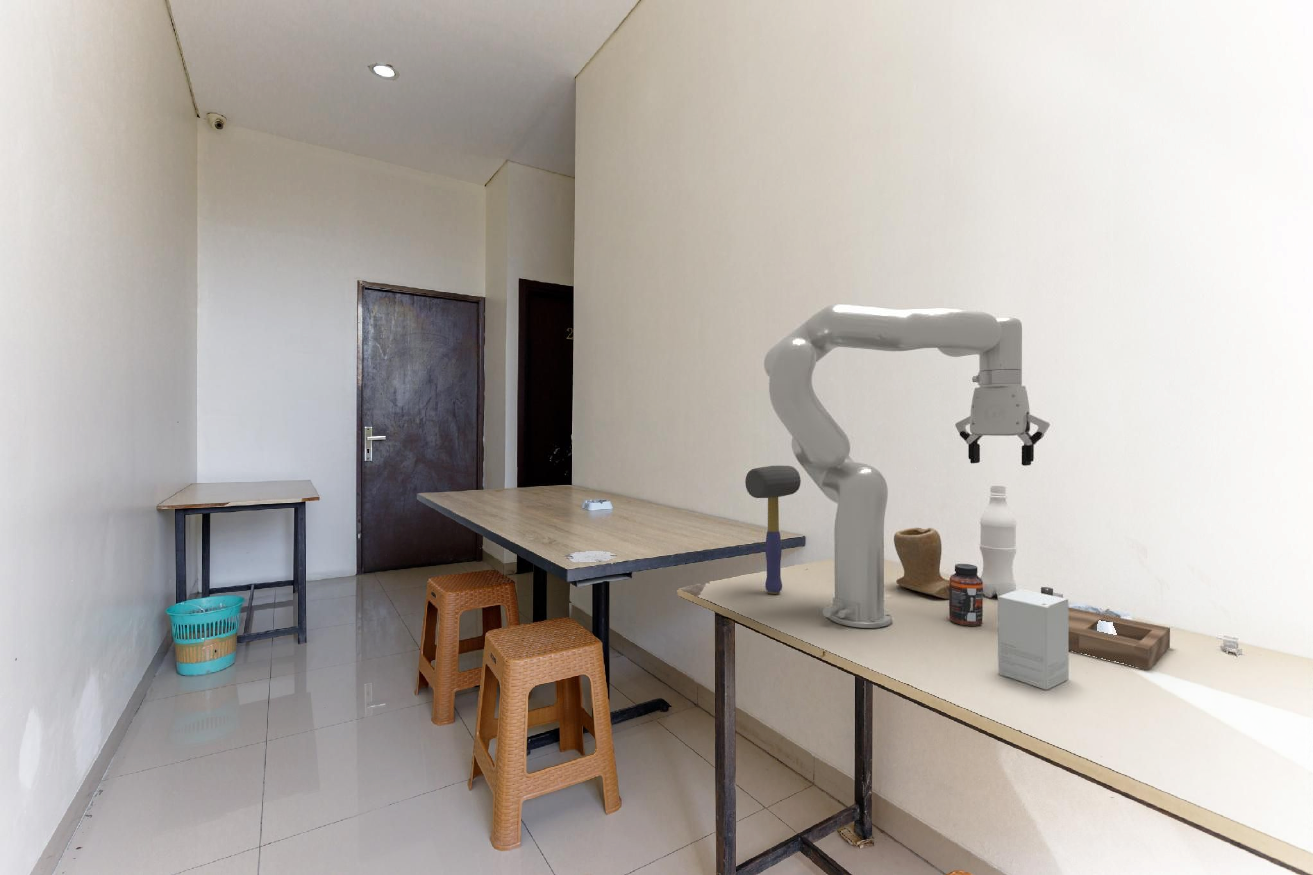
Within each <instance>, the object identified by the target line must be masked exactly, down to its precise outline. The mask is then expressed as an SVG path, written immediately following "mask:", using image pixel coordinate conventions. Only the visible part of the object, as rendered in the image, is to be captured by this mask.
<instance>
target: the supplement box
mask: <svg viewBox="0 0 1313 875" xmlns="http://www.w3.org/2000/svg"><path fill="white" fill-rule="evenodd" d="M1068 607H1069V599H1068V598H1067V597H1066V598H1065V597H1063V598H1061V597H1056V596H1051V595H1047V594H1042V593H1041V592H1036V591H1033V590H1027V589H1023V588H1019V589H1016V590H1015V591H1013V592H1010V593H1007V594H1004V595H1001V596H997V623H998V624H997V631H998V632H997V634H998V635H997V640H998V642H997V643H998V644H997V647H998V648H997V651H998V652H997V654H998V655H997V657H998V675H1001V676H1004V677H1006V678H1010V679H1013V680H1017V681H1019V682H1023V683H1025V684H1028V685H1030V686H1034V687H1037V688H1039V689H1042V690H1044V691H1045V690H1049V689H1052V688H1054V687H1055V686H1057V685H1060V684H1061V683H1064V682H1066V681H1067V680H1068V679H1069V673H1070V672H1069V667H1070V666H1069V665H1070V663H1069V651H1068Z"/></svg>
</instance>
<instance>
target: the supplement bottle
mask: <svg viewBox="0 0 1313 875" xmlns="http://www.w3.org/2000/svg"><path fill="white" fill-rule="evenodd" d="M954 572H955V573H953V574H951V575H950V577H949V599H948V601H949V602H948V617H949V620H950V621H951V622H952V623H954V624H957V625H960V626H961V625H962V626H965V627H966V626H967V627H975V626H976V627H977V626H981V625H982V624H983V616H984V615H983V606H984V603H983V601H984V593H983V581H982V579H981V576H979V575H978V573H979V571H978V566H977V565H974V564H969V563H955V565H954Z"/></svg>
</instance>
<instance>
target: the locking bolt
mask: <svg viewBox="0 0 1313 875" xmlns="http://www.w3.org/2000/svg"><path fill="white" fill-rule="evenodd" d="M1040 593H1042V594H1047V595H1051V596H1056V597H1061V598H1064V594H1063V593H1058V592H1054V589H1053V588H1052V587H1048V586H1041V587H1040Z"/></svg>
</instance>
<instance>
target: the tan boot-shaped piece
mask: <svg viewBox="0 0 1313 875" xmlns="http://www.w3.org/2000/svg"><path fill="white" fill-rule="evenodd" d="M893 544H894V548H895V551H896V553H897V556H898V559H899V561H900V563H901V566H902V568H903V570H904V571H903V573H904V574H903V576H902V577H899V578H898V579H896V581H895V583H896V584H897V585H898V586H900V587H903V588H905V589H909V590H912V591H915V592H918V593H922V594H925V595H926V594H927V595H929V596H933V597H938V598H941V599H945V600H949V580H950V579H949V580H948V579H945V578H943V576H942V574H941V573H940V572H941V570H940V569H941V568H940V567H941V559H942V552H943V551H942V539H941V535H940V534H939V532H938V531H937V530H936V529H934V527H928V528H921V527H910V528H905V529H902V530H898V531H896V532H895V534H894V536H893Z"/></svg>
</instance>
